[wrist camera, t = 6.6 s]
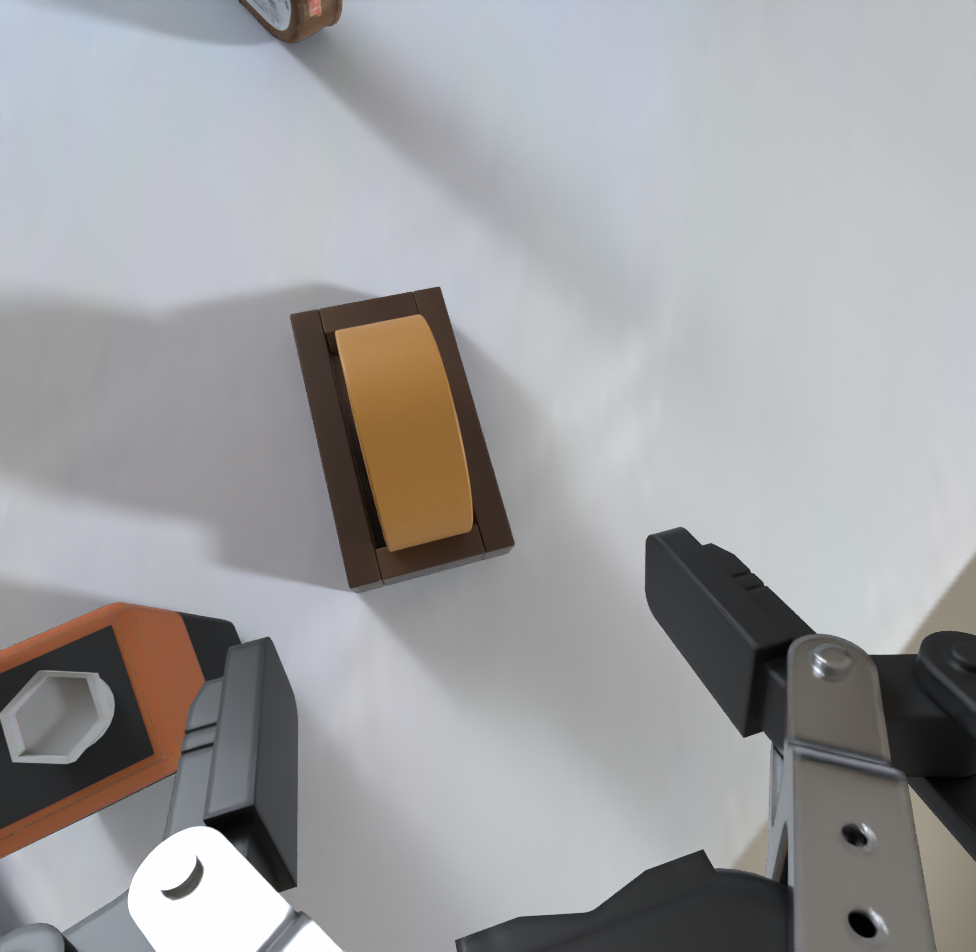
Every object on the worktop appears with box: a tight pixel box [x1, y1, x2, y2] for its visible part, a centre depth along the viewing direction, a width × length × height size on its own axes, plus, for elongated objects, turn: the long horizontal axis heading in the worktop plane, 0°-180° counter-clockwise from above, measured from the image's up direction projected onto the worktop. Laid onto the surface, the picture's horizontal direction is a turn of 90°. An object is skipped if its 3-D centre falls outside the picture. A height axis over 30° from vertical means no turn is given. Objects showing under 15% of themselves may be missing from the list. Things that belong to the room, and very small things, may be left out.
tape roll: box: [335, 315, 473, 552], centre depth 22 cm, size 3×8×8 cm, turn 16°
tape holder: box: [290, 287, 515, 593], centre depth 25 cm, size 6×12×2 cm, turn 16°
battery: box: [0, 603, 241, 859], centre depth 18 cm, size 4×7×10 cm, turn 116°
